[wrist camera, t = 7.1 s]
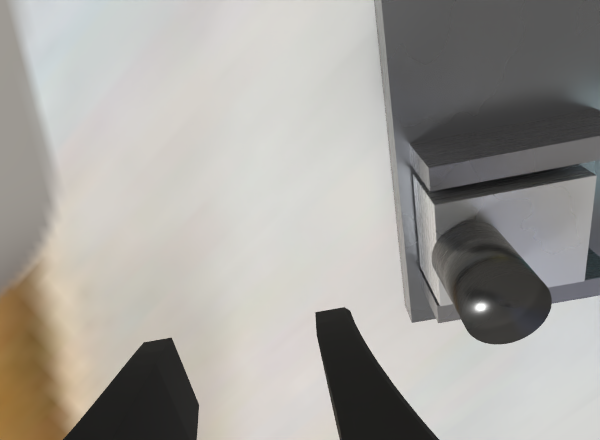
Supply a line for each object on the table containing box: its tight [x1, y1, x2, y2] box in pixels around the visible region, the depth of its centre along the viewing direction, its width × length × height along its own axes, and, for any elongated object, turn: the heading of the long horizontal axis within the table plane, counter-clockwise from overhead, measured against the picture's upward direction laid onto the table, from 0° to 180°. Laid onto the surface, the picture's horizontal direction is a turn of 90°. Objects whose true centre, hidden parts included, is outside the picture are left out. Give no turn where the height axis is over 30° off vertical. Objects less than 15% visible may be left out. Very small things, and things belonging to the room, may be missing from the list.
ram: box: [413, 164, 597, 344], centre depth 15 cm, size 4×5×6 cm
